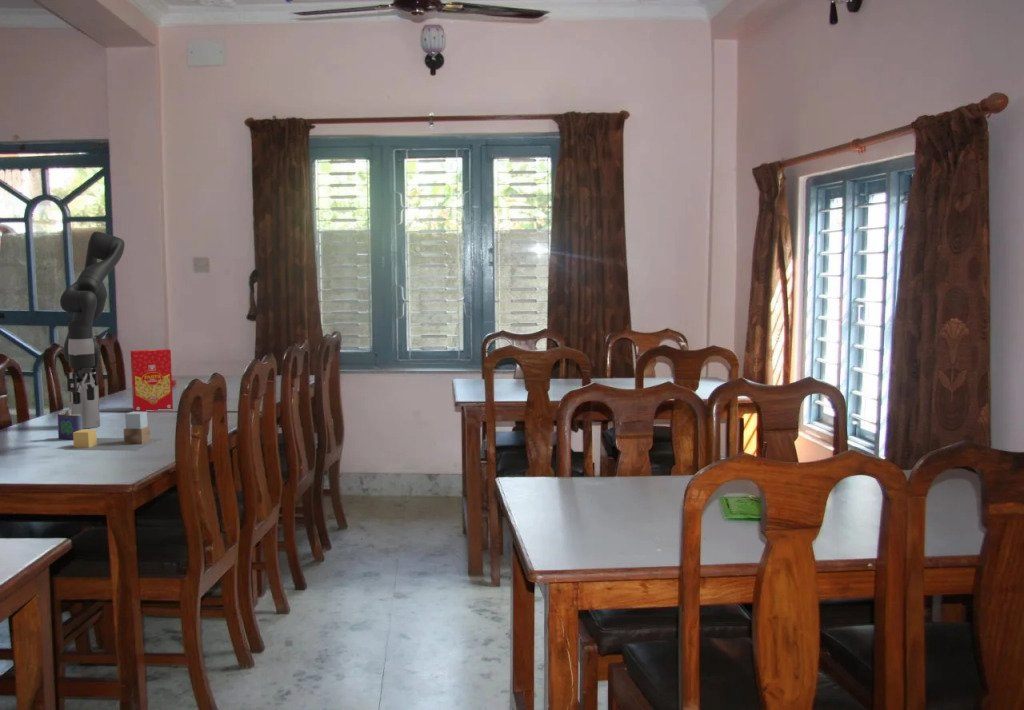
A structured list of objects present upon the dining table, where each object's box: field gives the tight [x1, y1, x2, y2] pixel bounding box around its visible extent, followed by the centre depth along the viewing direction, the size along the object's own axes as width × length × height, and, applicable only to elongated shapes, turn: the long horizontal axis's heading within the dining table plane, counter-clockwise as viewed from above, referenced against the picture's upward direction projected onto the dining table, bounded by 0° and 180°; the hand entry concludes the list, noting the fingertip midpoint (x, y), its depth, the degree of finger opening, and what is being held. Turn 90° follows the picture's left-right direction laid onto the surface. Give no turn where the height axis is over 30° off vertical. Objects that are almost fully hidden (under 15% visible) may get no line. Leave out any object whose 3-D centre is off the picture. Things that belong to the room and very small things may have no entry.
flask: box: [57, 408, 83, 441], centre depth 298 cm, size 9×3×11 cm, turn 74°
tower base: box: [123, 425, 151, 444], centre depth 292 cm, size 6×6×5 cm
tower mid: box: [124, 411, 149, 429], centre depth 291 cm, size 5×5×5 cm
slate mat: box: [63, 437, 163, 452], centre depth 289 cm, size 24×20×1 cm
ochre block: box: [72, 429, 98, 448], centre depth 285 cm, size 5×5×5 cm
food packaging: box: [130, 348, 174, 412], centre depth 361 cm, size 15×5×25 cm, turn 120°
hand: (84, 402), depth 284 cm, fingers open, 8 cm apart
